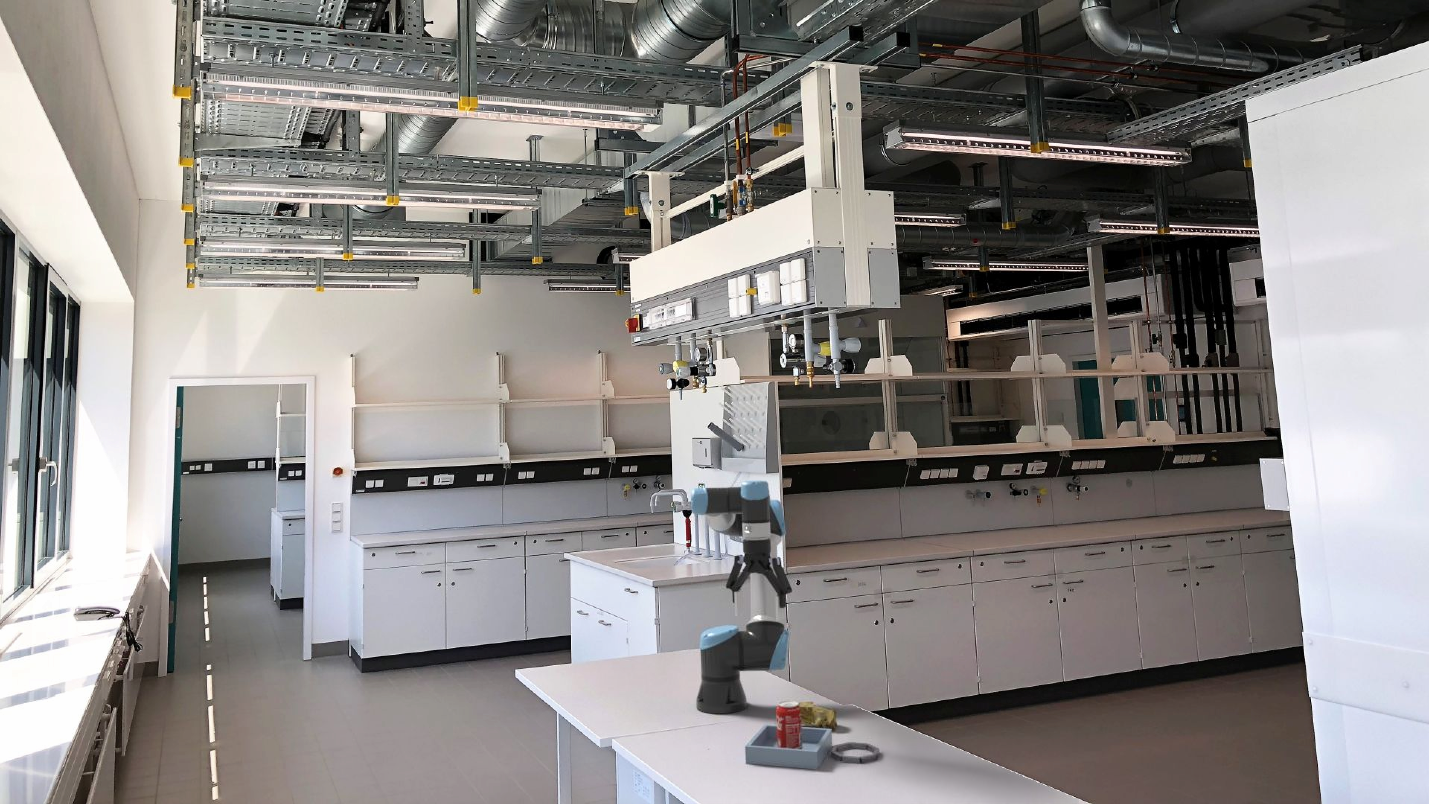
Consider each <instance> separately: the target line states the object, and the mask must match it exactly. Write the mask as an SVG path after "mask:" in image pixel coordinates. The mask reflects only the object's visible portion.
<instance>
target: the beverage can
mask: <svg viewBox="0 0 1429 804" xmlns="http://www.w3.org/2000/svg"><path fill="white" fill-rule="evenodd" d="M798 703H799V702H797V701H794V700H785V701H783V700H782V701H780V702H778V705H777V707H776V710H775V713H776V718H775V719H776V725H777V748H790V749H802V727H803V724H802V718H801V708H800V707H799V705H798Z"/></svg>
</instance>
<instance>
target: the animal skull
mask: <svg viewBox="0 0 1429 804" xmlns="http://www.w3.org/2000/svg"><path fill="white" fill-rule="evenodd" d="M813 704H814V701H805V702H798V705H799V707H800V708H801V718H802V725H804V726H805V727H818V728H823V729H832V730H835V729H836V727H838V723H837V714H838V712H837V710H834V709H828V708H825V707H821V706H816V705H813Z"/></svg>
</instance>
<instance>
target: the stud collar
mask: <svg viewBox="0 0 1429 804" xmlns="http://www.w3.org/2000/svg"><path fill="white" fill-rule="evenodd" d="M832 746H833V747H831V749H830V757H831V758H834V759H835V760H836V761H839V762H842V763H851V764H865V763H868V762H870V763H871V762H874V761H877V760H878V759H879V756H880V748H879V747H878V746H875V745H872V744H871V743H867V742H854V741H853V742H852V741H850V742H844V743H839V744H838V743H837V744H834V745H832ZM848 749H857V750H867V751H868V752H871V753H872V754H867V755H863V756H853V755H852V756H850V755H843V754H842V753H839V752H838V751H844V750H848Z"/></svg>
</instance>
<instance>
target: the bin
mask: <svg viewBox="0 0 1429 804" xmlns="http://www.w3.org/2000/svg"><path fill="white" fill-rule="evenodd" d="M832 746H833V728H832V729H825V728H823V727H821V728H820V727H810V726H802V749H790V748H777V724H763V725H762V727H761V728H760V729H759V730H758V731H757V732H756V733H755V735H754V736H753V737H752V738H751V739H750V740H749V742H748V743H747V744H746V745H745V746H744V749H745V750H744V753H745V755H744V756H745V764H751V765H759V766H760V765H761V766H774V767H785V768H787V767H788V768H797V769H798V768H799V769H811V770H818V769H819V768H820V766H821V765H822V763H823V761H824V759H825V758H826V756H827V754H828V753H829V751H831V749H832Z"/></svg>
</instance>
